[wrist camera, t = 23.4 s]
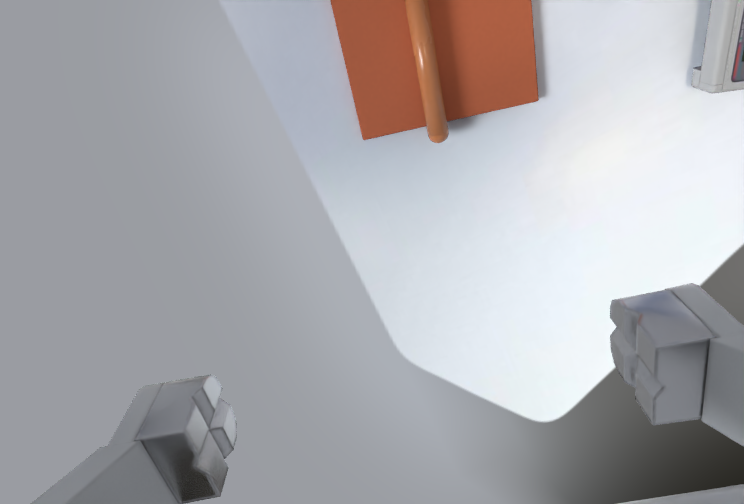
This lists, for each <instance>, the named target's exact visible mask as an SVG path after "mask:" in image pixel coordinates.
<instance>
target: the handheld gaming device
mask: <svg viewBox="0 0 744 504" xmlns="http://www.w3.org/2000/svg"><path fill="white" fill-rule="evenodd" d="M691 85H692V86H693V87H695V88H698V89H700V90H703V91H706V92H709V93H719V92H727V91H734V90H742V89H744V0H711V7H710V14H709V20H708V27H707V33H706V40H705V47H704V53H703V60H702V66H700V67H695V68H694V69H693V76H692V83H691Z"/></svg>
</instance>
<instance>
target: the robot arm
mask: <svg viewBox="0 0 744 504" xmlns="http://www.w3.org/2000/svg"><path fill="white" fill-rule="evenodd" d="M610 318H611V319H612V321H613V322H614V324H615V325H616V326H617V327H616V329H615V330H614V331H613V333H612V334H611V335H610V341H611V352H612V356H613V360H614V364H615V366H616V368H617V370H618V372H619V374H620V376H621V377H622V379H623V381H624V382H625V383H627V384H629V385H631V386H633V387H635V388H636V390H635V399H636V401H637V402H638V404H639V405H640V407H641V408H642V410H643V411H644V413H645V414H646V416H647V417H648V419H649V420H650V422H651V423H652V425H658V424H666V423H673V422H680V421H687V420H695V419H702V421H703V422H704V423H706V424H708V425H709V426H711V427H712V428H714V429H716V430H718V431H719V432H721V433H722V434H724V435H726V436H727V437H729V438H730V439H732V440H734V441H735V442H737V443H739V444H740V445H742V446H744V326H743V325H742V324H741V323H740V322H739V321H738V320H737V319H735V318H734V317H733V316H732V315H731V314H730V313H729V312H728V311H727V310H725V309H724V308H723V307H722V306H721V305H720V304H719V303H718V302H716V301H715V300H714V299H713V298H712V297H711V296H710V295H709V294H707V293H706V292H705V291H704V290H703V289H702V288H701V287H700V286H698V285H696V284H693V283H691V284H686V285H682V286H677V287H672V288H667V289H665V290H662V291H657V292H652V293H646V294H641V295H636V296H631V297H625V298H620V299H615V300H612V302H611V306H610ZM221 392H222V387H221V385H220V383H219V381H218V379H217V377H215V376H213V375H206V376H200V377H194V378H187V379H181V380H175V381H169V382H166V383H158V384H153V385H147V386H144V387H142V388H141V389H139V391H138V393H137V394H136V396H135V398H134V399H133V401H132V403H131V405H130V407H129V409H128V410H127V412H126V414H125V416H124V417H123V419H122V421H121V423H120V425H119V426H118V428H117V430H116V432H115V434H114V435H113V437H112V439H111V441H110V442H109V444H108V446H105V447H100V448H99V449H98V450H97V451H95V452H94V453H93V454H92V455H90V456H89V457H88V458H87V459H85V460H84V461H83V462H82V463H80V464H79V465H78V466H77V467H76V468H74V469H73V470H72V471H71V472H69V473H68V474H67V475H66V476H65V477H63V478H62V479H61V480H59V481H58V482H57V483H56V484H55V485H54V486H52V487H51V488H50V489H49V490H47V491H46V492H45V493H44V494H42V495H41V496H40V497H39V498H37V499H36V500H35V501H34V502H32V503H31V504H183V503H189V502H194V501H199V500H204V499H210V498H215V497H220V496H221V492H222V489H223V485H224V482H225V478H226V475H227V471H228V466H227V464H226V462H225V460H224V459H225V458H226V457H227V456H228V455H229V454H230V453H231V452H232V451H233V450H234V446H235V442H236V420H235V416H234V412H233V410H232V408H231V406H230V404H228V403H227V402H225V401H224V400H222V399H220V395H221ZM619 504H744V484H743V485H736V486H730V487H723V488H716V489H710V490H704V491H698V492H690V493H684V494H677V495H671V496H664V497H658V498H651V499H645V500H638V501H632V502H625V503H619Z"/></svg>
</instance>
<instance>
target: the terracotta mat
mask: <svg viewBox="0 0 744 504" xmlns="http://www.w3.org/2000/svg"><path fill="white" fill-rule="evenodd" d="M428 4H429V10H430V17H431V23H432V29H433V36H434V42H435V48H436V55H437V61H438V68H439V74H440V80H441V87H442V93H443V100H444V106H445V112H446V119H447V121H451V120H455V119H460V118H464V117H469V116H473V115H478V114H482V113H487V112H491V111H495V110H500V109H504V108H509V107H513V106H518V105H522V104H527V103H531V102H535V101H538V87H537V73H536V59H535V45H534V31H533V17H532V3H531V0H428ZM331 5H332V9H333V13H334V17H335V22H336V26H337V30H338V34H339V39H340V43H341V47H342V51H343V56H344V60H345V64H346V69H347V73H348V77H349V81H350V86H351V90H352V94H353V98H354V103H355V107H356V111H357V115H358V120H359V124H360V128H361V132H362V137H363V140H366V139H371V138H375V137H380V136H384V135H389V134H393V133H398V132H402V131H406V130H411V129H415V128H420V127H424V126H426V120H425V114H424V109H423V103H422V97H421V92H420V86H419V80H418V75H417V69H416V63H415V58H414V52H413V46H412V41H411V35H410V29H409V23H408V18H407V12H406V6H405V1H404V0H331Z"/></svg>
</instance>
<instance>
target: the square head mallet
mask: <svg viewBox="0 0 744 504" xmlns="http://www.w3.org/2000/svg"><path fill="white" fill-rule="evenodd" d="M404 1H405V6H406V12H407V18H408V23H409V29H410V35H411V41H412V46H413V52H414V58H415V63H416V69H417V75H418V80H419V86H420V92H421V97H422V103H423V109H424V114H425V120H426V126H427V132H428V136H429V138H430V140H431V141H433V142H435V143H441V142H443V141H445V140H446V138H447V137H448V125H447V119H446V112H445V106H444V100H443V93H442V87H441V80H440V74H439V68H438V61H437V55H436V48H435V42H434V36H433V29H432V23H431V17H430V10H429V4H428V0H404Z"/></svg>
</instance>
